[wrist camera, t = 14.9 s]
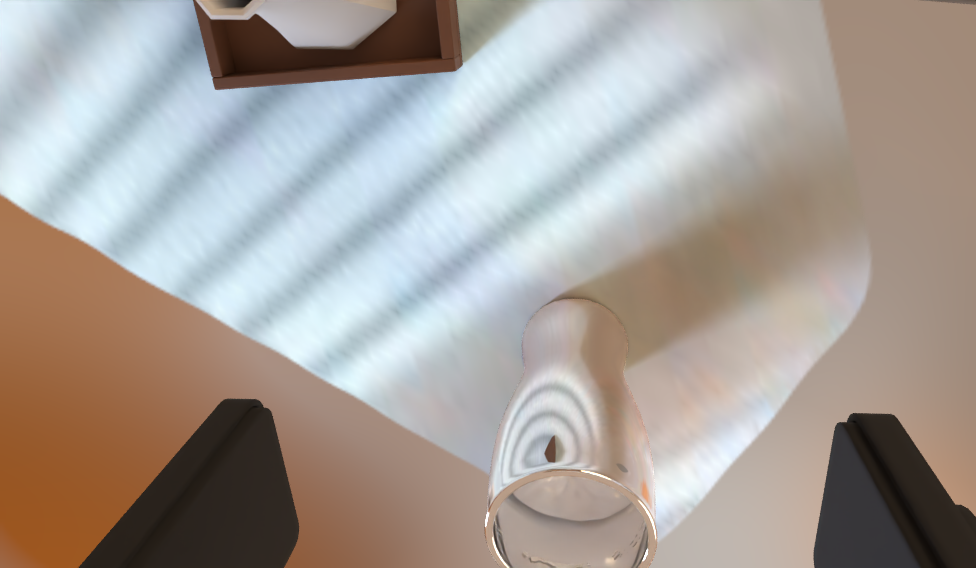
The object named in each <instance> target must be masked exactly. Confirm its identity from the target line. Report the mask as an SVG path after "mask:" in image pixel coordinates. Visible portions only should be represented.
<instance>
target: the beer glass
mask: <svg viewBox="0 0 976 568" xmlns="http://www.w3.org/2000/svg"><path fill="white" fill-rule="evenodd" d="M627 354H628V339H627V335H626V332H625V329H624V327H623V326H622V324H621V322H620V321H619V319H618V318H617V317H616V316H615V315H614V314H613V313H612V312H611V311H610V310H609V309H607V308H606V307H604V306H602V305H600V304H598V303H596V302H593V301H590V300H586V299H579V298H568V299H562V300H558V301H555V302H552V303H550V304H548V305H546V306H544V307H542V308H541V309H540V310H538V311H537V312H536V313H535V314H534V315H533V316H532V317H531V319H530V320H529V322H528V323H527V325H526V327H525V329H524V332H523V336H522V355H523V360H524V365H525V370H524V373H523V375H522V377H521V379H520V381H519V383H518V385H517V387H516V389H515V391H514V393H513V395H512V397H511V399H510V401H509V403H508V405H507V407H506V410H505V413H504V415H503V418H502V420H501V423H500V425H499V428H498V432H497V436H496V440H495V444H494V448H493V453H492V460H491V467H490V475H489V487H488V503H487V516H486V520H485V538H486V542H487V545H488V548H489V551H490V553H491V555H492V557H493V558H494V560H495V561H496V563H497V564H498V565H499V566H500V568H648V567H649V566H650V564H651V562H652V560H653V558H654V555H655V552H656V547H657V530H656V504H655V480H654V469H653V460H652V455H651V449H650V444H649V439H648V435H647V431H646V429H645V426H644V423H643V420H642V417H641V414H640V411H639V409H638V407H637V404H636V402H635V400H634V398H633V395H632V393H631V391H630V389H629V387H628V384H627V382H626V380H625V377H624V368H625V364H626V360H627Z"/></svg>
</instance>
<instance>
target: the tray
mask: <svg viewBox="0 0 976 568" xmlns="http://www.w3.org/2000/svg"><path fill="white" fill-rule="evenodd" d="M193 2H194V6H195V10H196V14H197V18H198V22H199V26H200V30H201V34H202V38H203V43H204V47H205V51H206V55H207V59H208V63H209V67H210V71H211V75H212V77H214V78H213V83H214V87H215V90H222V89H235V88H248V87H260V86H273V85H286V84H299V83H312V82H325V81H337V80H350V79H363V78H376V77H389V76H402V75H415V74H427V73H440V72H453V71H456V70H457V69H459V68H460V67H461V66H462V65H463V63H462V53H461V43H460V33H459V23H458V13H457V3H456V0H396V8H397V12H396V13H395V14H394V15H393V16H391V17H390V18H389V19H388V20H387V21H386V22H384V23H383V24H382V25H381V26H380V27H379V28H377V29H376V30H375V31H374V32H373V33H372V34H370V35H369V36H368V37H367V38H366V39H365V40H363V41H362V42H361V43H360V44H359V45H358V46H356V47H355V48H354V49H296V48H295V47H294V46H293V45H292V44H291V43H290V42H289V41H288V40H287V39H286V38H285V37H284V36H283V35H282V34H281V33H280V32H279V31H278V30H276V29H275V28H274V27H273V26H272V25H270V24H269V23H268V22H267V21H266V20H264V19H263V18H262V17H261V16H259V15H258V14H254V15H253V16H252V17H251V18H250V19H248V20H232V19H211V18H210V17H209V16H208V15H207V14H206V12H205V11H204V10H203V9H202V7H201V6H200V5H199V4H198V3H197V1H196V0H193Z"/></svg>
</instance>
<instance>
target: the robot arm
mask: <svg viewBox="0 0 976 568" xmlns="http://www.w3.org/2000/svg"><path fill="white" fill-rule="evenodd" d="M298 534H299V523H298V518H297V514H296V510H295V506H294V502H293V498H292V494H291V489H290V485H289V482H288V477H287V473H286V469H285V465H284V461H283V457H282V453H281V448H280V444H279V440H278V436H277V432H276V428H275V424H274V420H273V416H272V413H271V411H270V410H269V409H268V408H264V407H263V405H262V403H261V402H260V401H259V400H256V399H225V400H223V401H222V402H221V403H220V404H219V405H218V406H217V407H216V408H215V410H214V411H213V412H212V413H211V414H210V416H209V417H208V418H207V419H206V420H205V421H204V422H203V424H202V425H201V426H200V427H199V428H198V429H197V431H196V432H195V433H194V434H193V435H192V436H191V438H190V439H189V440H188V441H187V442H186V444H184V446H183V447H182V448H181V449H180V450H179V451H178V453H177V454H176V455H175V456H174V457H173V458H172V460H171V461H170V462H169V463H168V464H167V465H166V466H165V468H164V469H163V470H162V471H161V472H160V473H159V475H158V476H157V477H156V478H155V479H154V481H153V482H152V483H151V484H150V485H149V486H148V487H147V489H146V490H145V491H144V492H143V493H142V494H141V496H140V497H139V498H138V499H137V500H136V501H135V503H134V504H133V505H132V506H131V507H130V508H129V510H128V511H127V512H126V513H125V514H124V515H123V517H122V518H121V519H120V520H119V521H118V522H117V523H116V525H115V526H114V527H113V528H112V529H111V530H110V532H109V533H108V534H107V535H106V536H105V537H104V539H103V540H102V541H101V542H100V543H99V544H98V545H97V547H96V548H95V549H94V550H93V551H92V552H91V554H90V555H89V556H88V557H87V558H86V560H85V561H84V562H83V563H82V564H81V565H80V567H79V568H284V567H285V565H286V563H287V561H288V559H289V557H290V555H291V553H292V551H293V549H294V547H295V545H296V542H297V539H298ZM814 567H815V568H976V517H975V516H974V515H973V513H972V512H971V511H970V510H969V509H968V508H966V507H964V506H962V505H955V503H954V502H953V501H952V499H951V498H950V496H949V495H948V493H947V492H946V490H945V489H944V487H943V486H942V484H941V483H940V481H939V480H938V478H937V477H936V475H935V474H934V472H933V471H932V469H931V468H930V466H929V465H928V463H927V462H926V460H925V459H924V457H923V456H922V454H921V453H920V451H919V450H918V448H917V447H916V446H915V444H914V442H913V441H912V440H911V438H910V437H909V435H908V434H907V432H906V431H905V429H904V428H903V426H902V425H901V423H900V422H899V420H898V419H897V418H896V417H895V416H894V415H892V414H867V413H864V414H863V413H853V414H851V415H850V416H849V418H848V420H847V422H839V423H837V425H836V427H835V431H834V436H833V442H832V447H831V453H830V460H829V465H828V471H827V476H826V483H825V488H824V494H823V500H822V506H821V512H820V517H819V523H818V529H817V535H816V541H815V547H814Z"/></svg>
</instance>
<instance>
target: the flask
mask: <svg viewBox="0 0 976 568" xmlns="http://www.w3.org/2000/svg"><path fill="white" fill-rule="evenodd" d="M196 1H197V3H198V4H199V5H200V6H201V7H202V9H203V10H204V11H205V12H206V14H207V15H208V16H209V17H210V18H211V19H232V20H248V19H250V18H251V17H252V16H253V15H254V14H258V15H259V16H261V17H262V18H263V19H264V20H266V21H267V22H268V23H269V24H270V25H272V26H273V27H274V28H275V29H276V30H278V31H279V32H280V33H281V34H282V35H283V36H284V37H285V38H286V39H287V40H288V41H289V42H290V43H291V44H292V45H293V46H294V47H295V48H296V49H354V48H355V47H356V46H358V45H359V44H360V43H361V42H362V41H363V40H365V39H366V38H367V37H368V36H369V35H370V34H372V33H373V32H374V31H375V30H376V29H377V28H379V27H380V26H381V25H382V24H383V23H384V22H386V21H387V20H388V19H389V18H390V17H391V16H393V15H394V14H395V13H396V12H397V8H396V0H196Z"/></svg>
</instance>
